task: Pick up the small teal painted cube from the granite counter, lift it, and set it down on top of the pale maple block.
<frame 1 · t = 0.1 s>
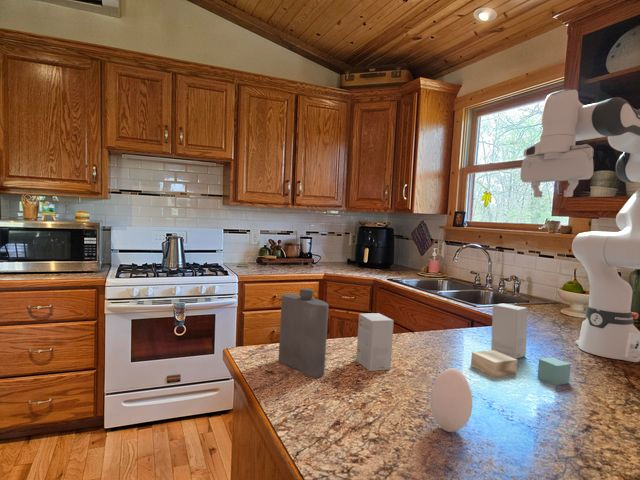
hand: (552, 197, 115), 48 cm above the counter, tool pointing down, fingers open, 8 cm apart
egg: (448, 431, 75), on the counter
small box: (372, 365, 107), on the counter
teal cube: (552, 380, 103), on the counter
flask: (301, 368, 102), on the counter
skincare box: (506, 354, 123), on the counter
maple block: (493, 370, 109), on the counter
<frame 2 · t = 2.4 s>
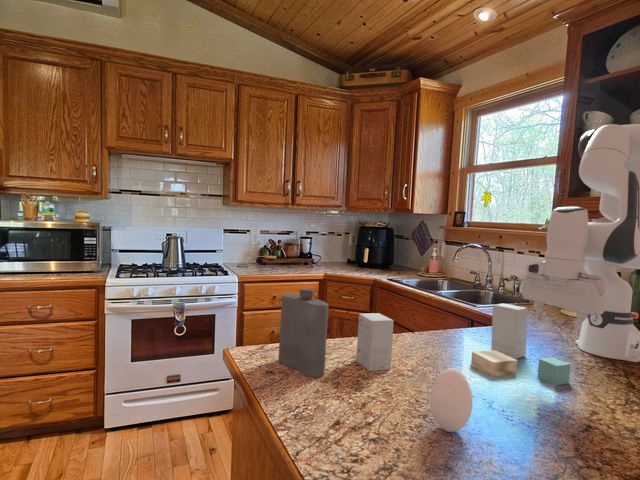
hand: (557, 324, 102), 15 cm above the counter, tool pointing down, fingers open, 8 cm apart
nothing on the counter moved.
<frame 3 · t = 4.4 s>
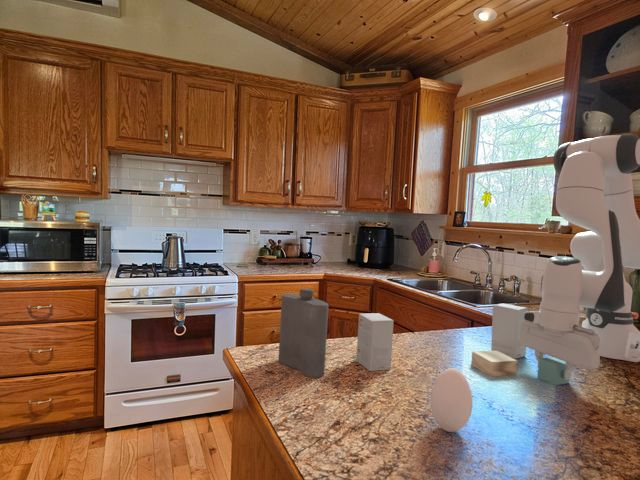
hand: (553, 373, 103), 2 cm above the counter, tool pointing down, fingers closed on teal cube, 5 cm apart
teal cube: (552, 380, 103), on the counter, touching gripper
everything else where it was.
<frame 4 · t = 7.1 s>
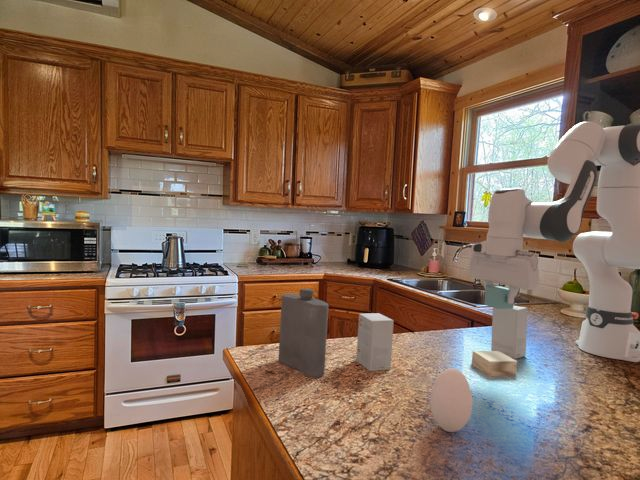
hand: (499, 300, 108), 19 cm above the counter, tool pointing down, fingers closed on teal cube, 5 cm apart
teal cube: (498, 306, 108), point 17 cm above the counter, touching gripper
everything else where it was.
when the fingers open (7 cm above the counter, at t = 10.0 s): teal cube drops 2 cm, resting on maple block.
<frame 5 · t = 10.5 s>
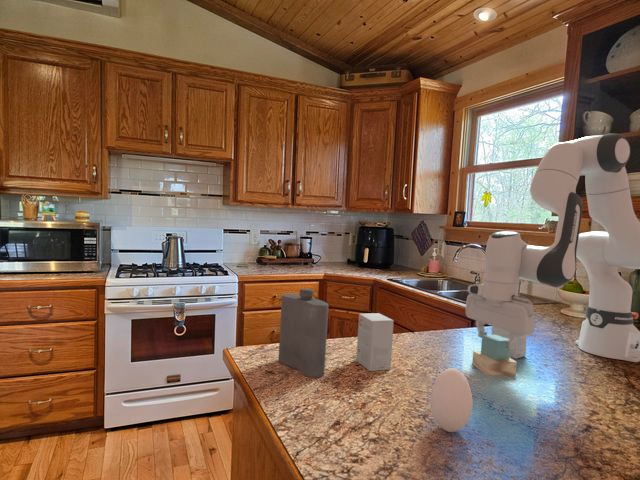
hand: (495, 342, 108), 7 cm above the counter, tool pointing down, fingers open, 8 cm apart
teal cube: (494, 356, 109), point 4 cm above the counter, touching maple block
maple block: (493, 370, 109), on the counter, touching teal cube
everything else where it was.
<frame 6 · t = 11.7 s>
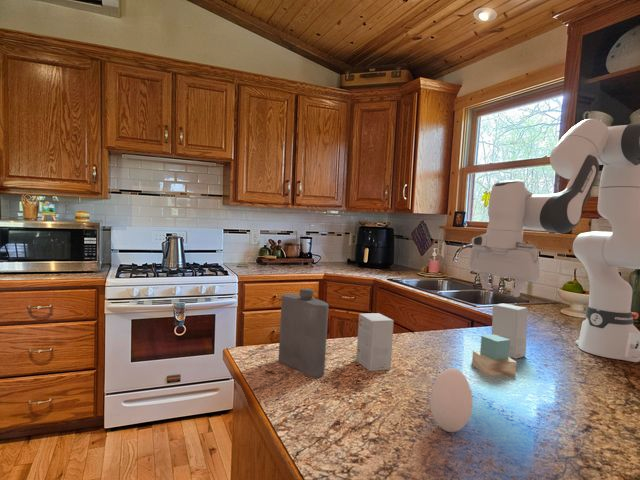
hand: (500, 292, 108), 21 cm above the counter, tool pointing down, fingers open, 8 cm apart
nothing on the counter moved.
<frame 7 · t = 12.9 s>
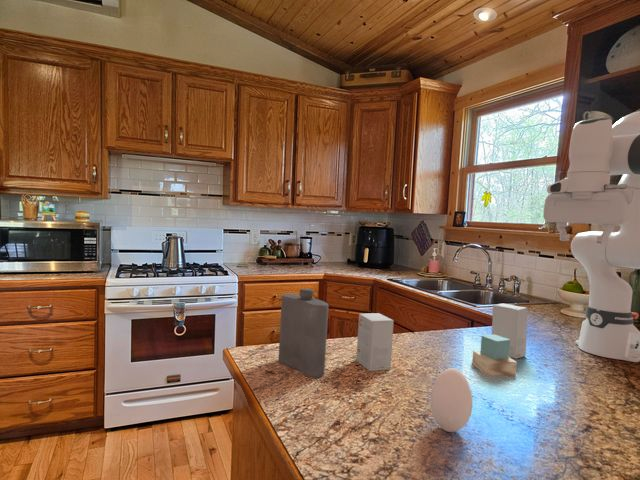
hand: (582, 242, 99), 36 cm above the counter, tool pointing down, fingers open, 8 cm apart
nothing on the counter moved.
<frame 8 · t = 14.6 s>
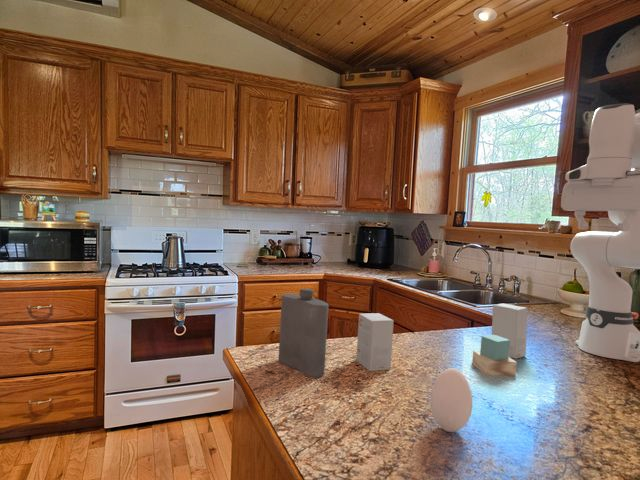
hand: (602, 230, 97), 39 cm above the counter, tool pointing down, fingers open, 8 cm apart
nothing on the counter moved.
at the end: teal cube 0.2 cm off-centre on the maple block, point 4.0 cm above the maple block's base; the gripper is holding nothing; teal cube tilted 0° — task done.
